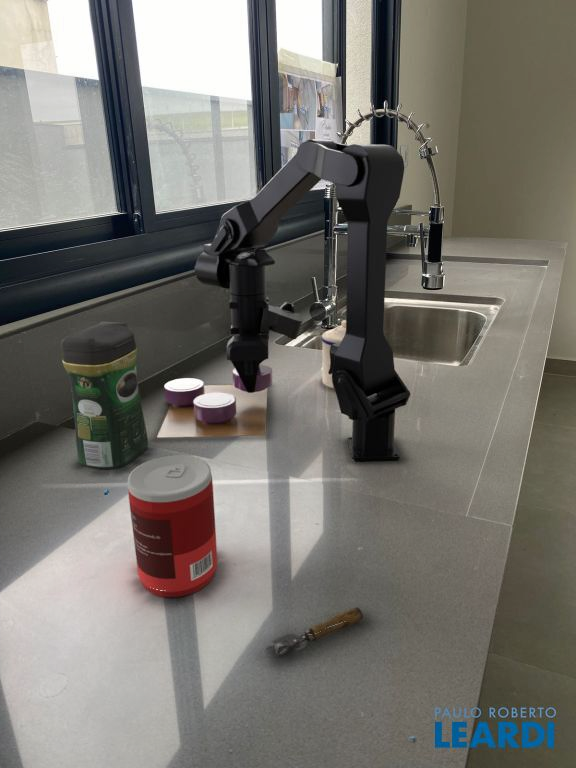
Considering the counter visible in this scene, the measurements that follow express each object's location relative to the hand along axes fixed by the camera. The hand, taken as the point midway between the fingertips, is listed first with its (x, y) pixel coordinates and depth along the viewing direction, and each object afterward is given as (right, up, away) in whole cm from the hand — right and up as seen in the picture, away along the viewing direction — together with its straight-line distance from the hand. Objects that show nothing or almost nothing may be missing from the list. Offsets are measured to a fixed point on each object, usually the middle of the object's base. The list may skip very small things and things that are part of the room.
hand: (251, 385), depth 101 cm
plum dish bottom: (-5, -5, -6) cm, 9 cm away
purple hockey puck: (-11, -3, +1) cm, 12 cm away
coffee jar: (-18, -10, -17) cm, 27 cm away
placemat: (-5, -4, -2) cm, 7 cm away
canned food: (-5, -19, -41) cm, 45 cm away
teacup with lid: (+17, +1, +11) cm, 20 cm away
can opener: (+8, -21, -49) cm, 55 cm away
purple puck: (0, 0, 0) cm, 0 cm away
